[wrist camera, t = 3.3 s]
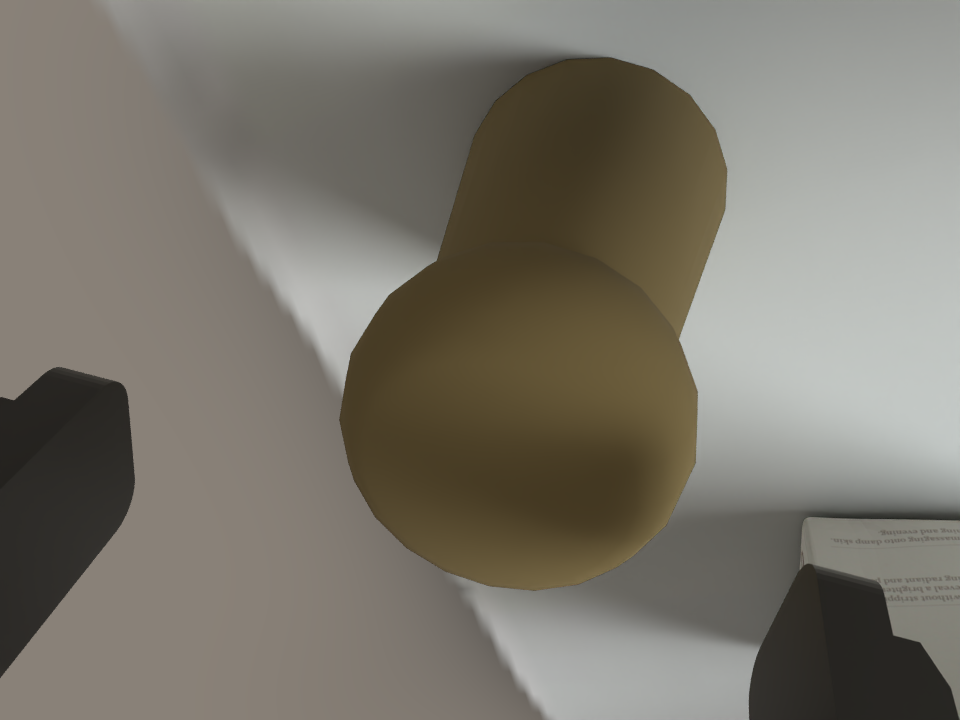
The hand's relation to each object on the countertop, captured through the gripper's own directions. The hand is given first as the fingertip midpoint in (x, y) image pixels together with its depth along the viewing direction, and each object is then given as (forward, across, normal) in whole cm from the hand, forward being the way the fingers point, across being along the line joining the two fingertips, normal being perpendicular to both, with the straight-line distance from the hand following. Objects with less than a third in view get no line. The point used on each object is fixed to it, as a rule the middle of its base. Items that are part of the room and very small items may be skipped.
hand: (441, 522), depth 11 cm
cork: (+12, -1, +1) cm, 13 cm away
